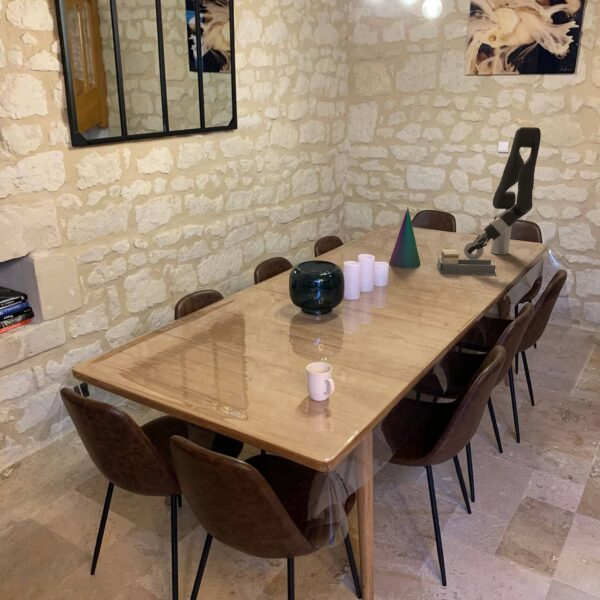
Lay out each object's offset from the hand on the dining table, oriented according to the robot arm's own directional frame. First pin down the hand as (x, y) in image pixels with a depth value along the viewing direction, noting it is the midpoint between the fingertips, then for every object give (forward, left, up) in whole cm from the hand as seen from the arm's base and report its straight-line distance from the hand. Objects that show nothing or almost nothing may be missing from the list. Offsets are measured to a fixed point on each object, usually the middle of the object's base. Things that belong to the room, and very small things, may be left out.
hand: (468, 252), depth 288 cm
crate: (0, -9, -8) cm, 12 cm away
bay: (0, -1, -9) cm, 9 cm away
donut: (-19, +6, -9) cm, 22 cm away
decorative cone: (-9, -30, -9) cm, 32 cm away
